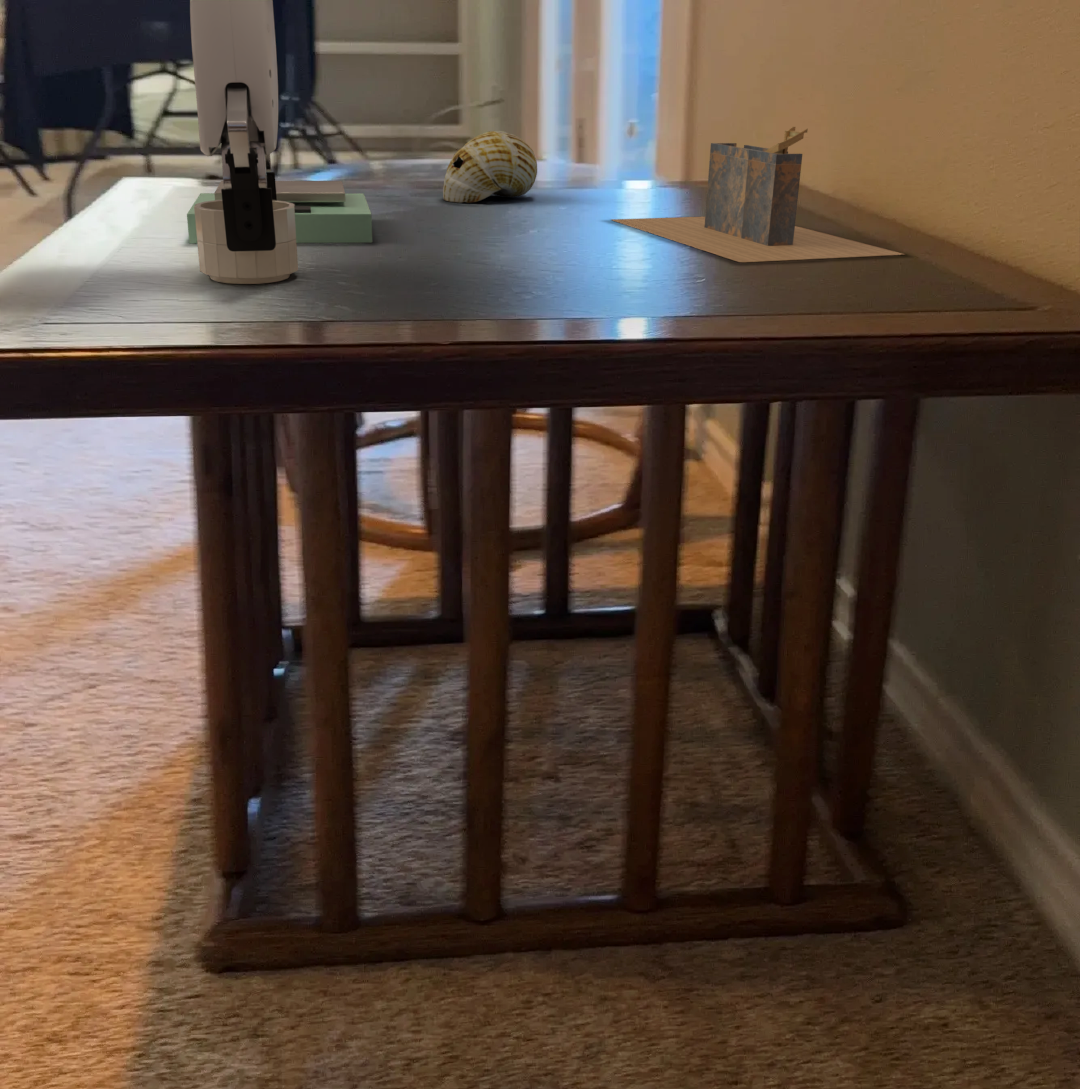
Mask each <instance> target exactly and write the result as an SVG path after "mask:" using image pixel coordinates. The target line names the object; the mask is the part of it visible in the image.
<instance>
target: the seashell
mask: <svg viewBox="0 0 1080 1089" xmlns="http://www.w3.org/2000/svg"><path fill="white" fill-rule="evenodd" d="M537 175H538V162H537V158H536V155H535V152H534V150H533V149H532V147H531V146H530V145H529V144H528V143H527V142H526V141H525V140H524V139H522V138H520V137H519V136H517V135H515V134H513V133H510V132H506V130H493V131H491V130H490V131H486V132H483V133H481V134H479V135H476V136H475V137H473V138H471V139H470V140H468V142H466V143H465V144H464V146H463V147H461V148H459V149H458V150H457V151H456V152H455V153H454V154H453V156H452V158H451V159H450V161H449V164H448V165H447V168H446V172H445V174H444V179H443V180H444V182H443V184H442V197H443V198H442V199H443V200H444V201H446V202H451V203H460V204H461V203H467V204H468V203H477V202H481V201H482V200H486V198H488V197H490V196H491V195H493V196H497V197H502V198H516V197H522V196H524V195H526V194H527V193H528V192H529V191H530V190H531V189H532V188H533V186H534V184H535V181H536V179H537Z"/></svg>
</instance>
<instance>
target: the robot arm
mask: <svg viewBox="0 0 1080 1089" xmlns="http://www.w3.org/2000/svg"><path fill="white" fill-rule="evenodd" d="M189 17H190V19H189V20H190V38H191V52H192V65H193V76H194V86H195V87H194V88H195V98H196V109H197V110H196V111H197V122H198V136H199V150H200V151H201V153H202V154H204V155H205V156H207V157H213V156H214V155H215V153H216V152H217V151H218V149H219V147H220V149H221V166H222V168H221V169H222V181H223V184H224V189H221V192H222V202H223V212H224V222H225V232H226V242H227V248H228V249H229V250H230V251H233V252H236V251H271V250H273V249H274V248H275V247H276V238H275V226H274V214H273V202H272V200H277V195H276V183H275V181H276V172H275V171H272V159H271V154H272V153H273V152H274V151H275V150H276V148H277V145H278V133H279V132H278V131H279V80H278V79H279V78H278V61H277V60H278V59H277V43H276V41H277V40H276V29H275V14H274V2H273V0H189Z"/></svg>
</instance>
